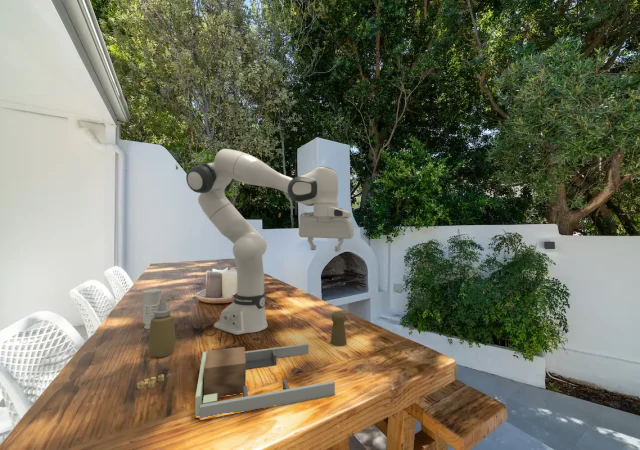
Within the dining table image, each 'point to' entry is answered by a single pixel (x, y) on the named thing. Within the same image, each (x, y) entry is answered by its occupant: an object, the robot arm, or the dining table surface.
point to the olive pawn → (338, 329)
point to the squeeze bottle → (161, 332)
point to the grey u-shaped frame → (272, 398)
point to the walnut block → (225, 371)
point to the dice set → (150, 382)
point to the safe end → (202, 389)
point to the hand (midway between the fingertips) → (325, 250)
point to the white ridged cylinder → (150, 305)
